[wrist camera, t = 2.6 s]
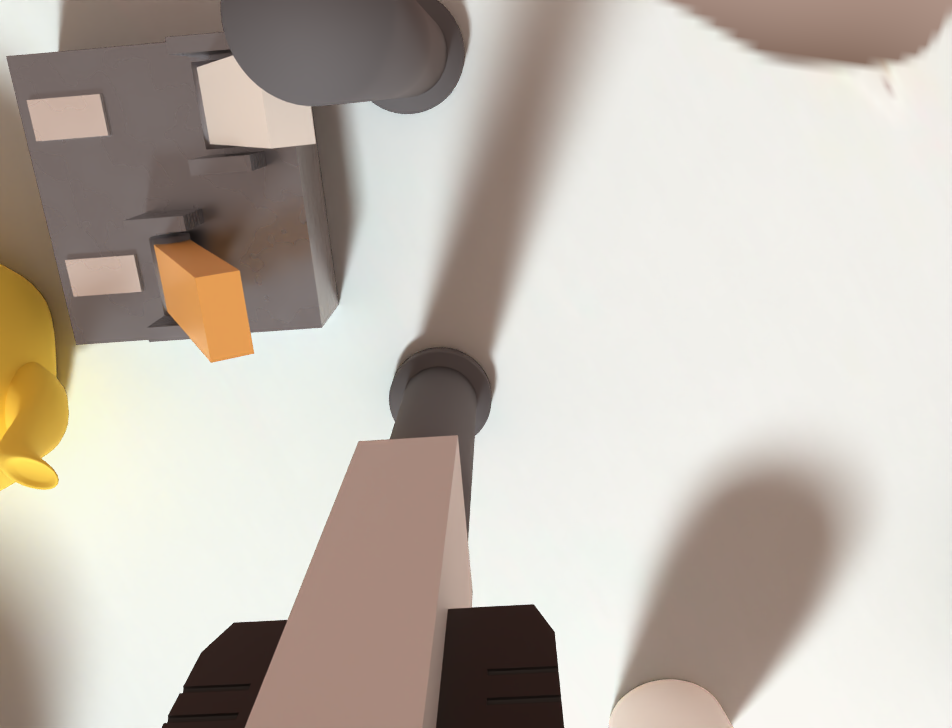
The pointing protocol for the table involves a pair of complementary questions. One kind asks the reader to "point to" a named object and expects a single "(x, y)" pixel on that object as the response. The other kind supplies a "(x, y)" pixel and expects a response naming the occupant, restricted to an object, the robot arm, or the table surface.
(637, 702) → the cup
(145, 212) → the breaker panel
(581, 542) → the table surface
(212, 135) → the ivory paddle
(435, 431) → the post
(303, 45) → the cable post
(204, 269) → the orange paddle
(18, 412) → the teapot
